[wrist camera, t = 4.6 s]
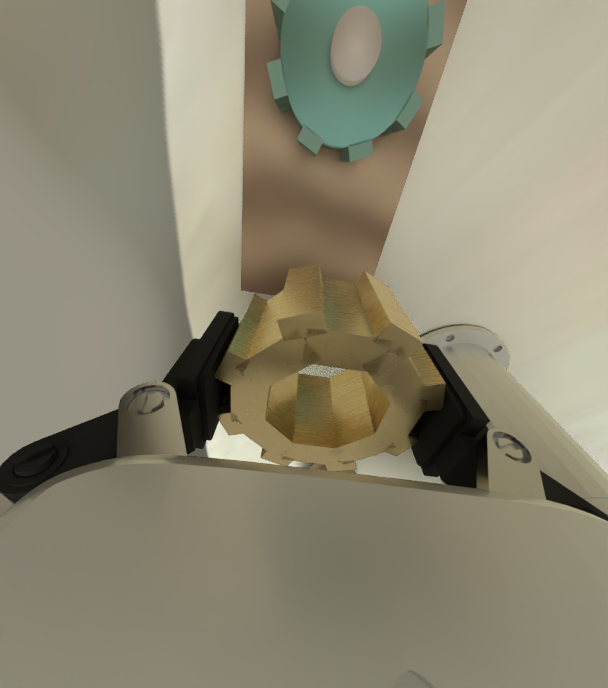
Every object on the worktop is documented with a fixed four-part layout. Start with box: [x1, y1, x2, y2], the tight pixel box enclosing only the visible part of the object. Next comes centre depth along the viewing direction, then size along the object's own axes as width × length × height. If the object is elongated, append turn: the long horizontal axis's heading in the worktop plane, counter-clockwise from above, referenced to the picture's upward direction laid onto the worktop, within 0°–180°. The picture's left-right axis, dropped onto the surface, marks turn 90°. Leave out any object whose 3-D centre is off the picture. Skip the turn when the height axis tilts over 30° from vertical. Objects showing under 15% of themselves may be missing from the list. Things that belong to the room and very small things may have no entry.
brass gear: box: [215, 263, 446, 471], centre depth 10 cm, size 8×8×4 cm
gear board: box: [241, 0, 467, 295], centre depth 13 cm, size 26×11×6 cm, turn 171°
